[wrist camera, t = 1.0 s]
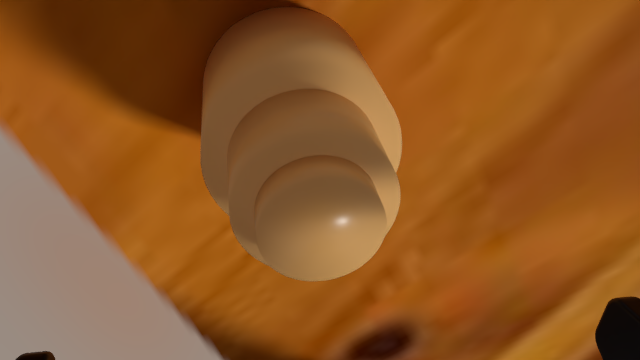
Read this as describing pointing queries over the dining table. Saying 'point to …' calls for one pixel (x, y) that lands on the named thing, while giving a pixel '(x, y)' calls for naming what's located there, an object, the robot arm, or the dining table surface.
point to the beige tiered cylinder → (299, 144)
